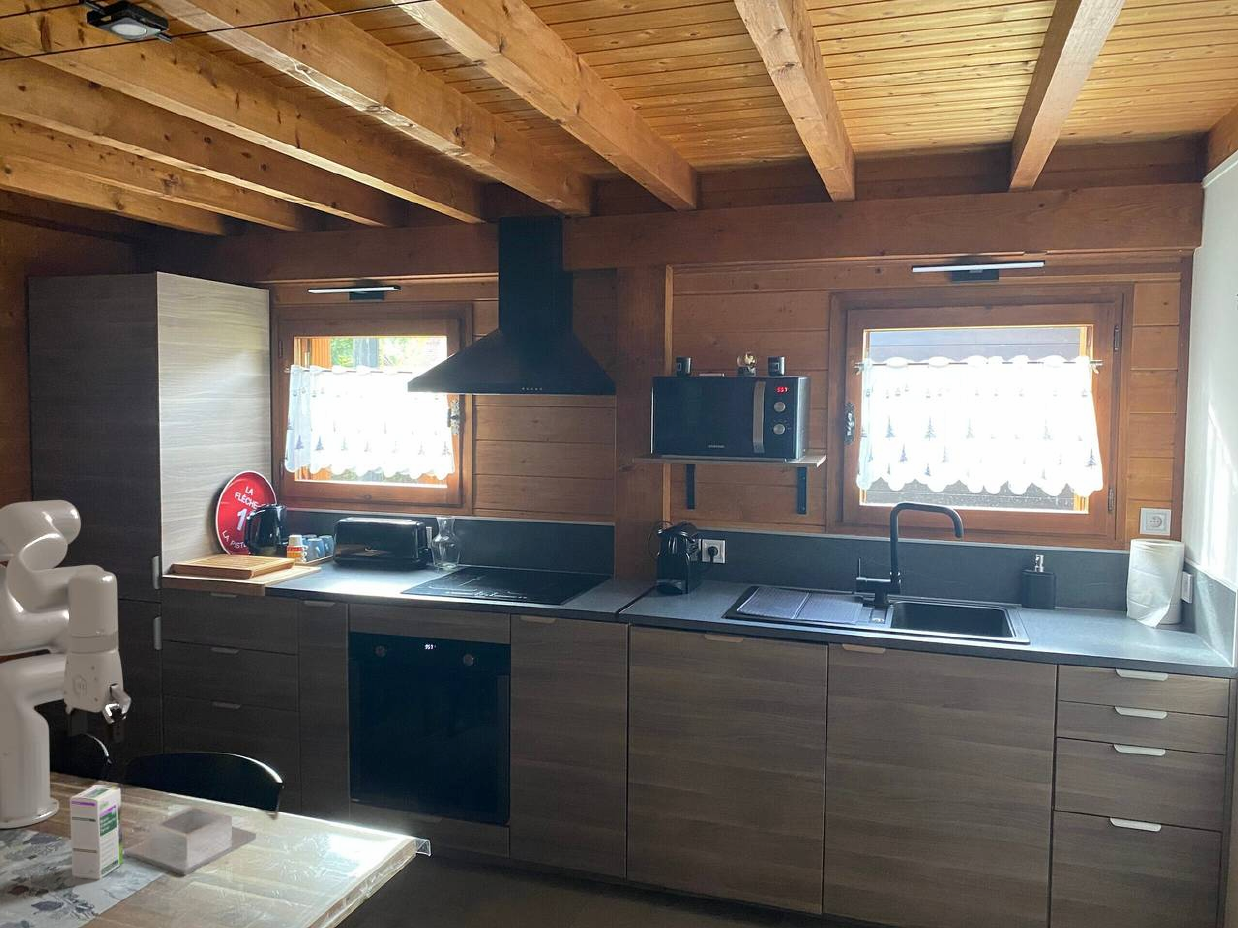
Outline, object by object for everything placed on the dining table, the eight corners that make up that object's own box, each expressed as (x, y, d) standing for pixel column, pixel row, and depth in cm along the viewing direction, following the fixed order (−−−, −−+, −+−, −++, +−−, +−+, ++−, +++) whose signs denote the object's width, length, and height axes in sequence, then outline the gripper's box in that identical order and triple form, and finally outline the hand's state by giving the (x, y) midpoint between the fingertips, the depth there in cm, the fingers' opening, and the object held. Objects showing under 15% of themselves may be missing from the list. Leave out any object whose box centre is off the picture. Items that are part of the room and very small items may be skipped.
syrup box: (99, 880, 163) (98, 799, 162) (70, 876, 164) (69, 796, 163) (123, 864, 169) (122, 786, 168) (94, 860, 170) (93, 783, 169)
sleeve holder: (124, 854, 172) (123, 828, 172) (197, 820, 187) (197, 796, 186) (184, 875, 165) (184, 848, 165) (255, 838, 180) (255, 813, 179)
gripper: (41, 641, 164) (44, 736, 165) (106, 653, 156) (108, 753, 158) (82, 632, 171) (84, 724, 172) (146, 643, 163) (148, 739, 164)
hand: (96, 738), depth 165 cm, fingers open, 9 cm apart
